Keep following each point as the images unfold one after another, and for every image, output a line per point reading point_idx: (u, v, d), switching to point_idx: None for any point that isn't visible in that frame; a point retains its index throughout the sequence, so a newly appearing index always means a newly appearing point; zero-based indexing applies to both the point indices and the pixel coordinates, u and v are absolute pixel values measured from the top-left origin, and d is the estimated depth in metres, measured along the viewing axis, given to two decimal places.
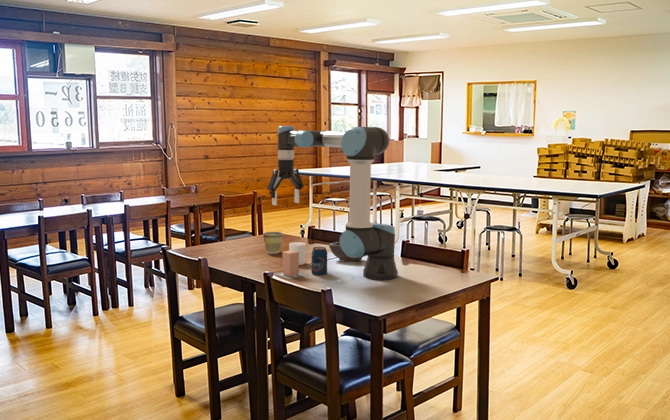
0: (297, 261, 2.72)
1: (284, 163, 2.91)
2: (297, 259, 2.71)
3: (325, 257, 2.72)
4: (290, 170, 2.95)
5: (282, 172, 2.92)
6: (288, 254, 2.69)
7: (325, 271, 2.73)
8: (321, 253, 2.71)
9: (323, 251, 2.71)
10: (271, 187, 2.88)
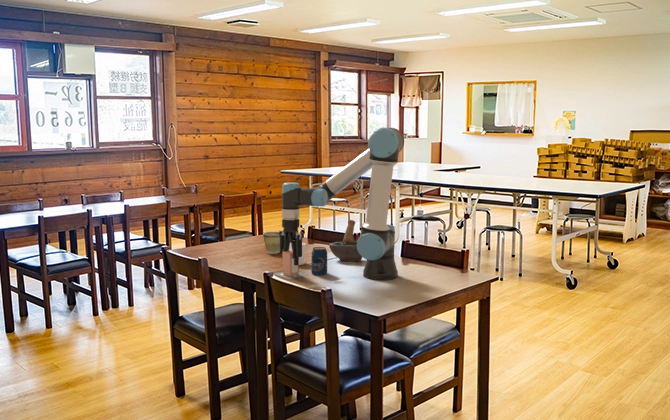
0: None
1: None
2: None
3: (325, 257, 2.72)
4: (291, 231, 2.68)
5: (284, 231, 2.72)
6: (288, 254, 2.69)
7: (325, 271, 2.73)
8: (321, 253, 2.71)
9: (323, 251, 2.71)
10: (280, 250, 2.75)
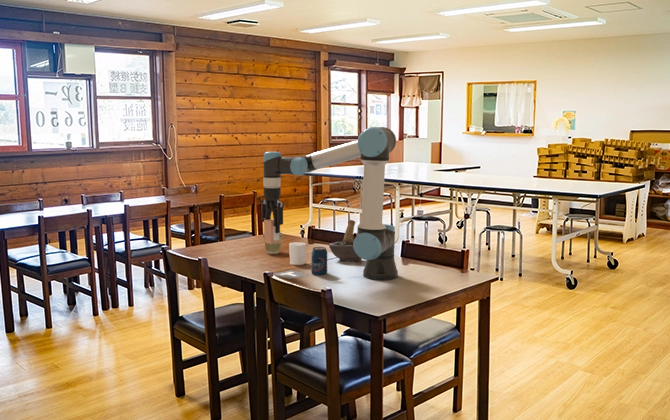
0: None
1: None
2: None
3: (325, 257, 2.72)
4: (272, 200, 2.74)
5: (266, 200, 2.77)
6: (269, 222, 2.74)
7: (325, 271, 2.73)
8: (321, 253, 2.71)
9: (323, 251, 2.71)
10: (261, 219, 2.80)
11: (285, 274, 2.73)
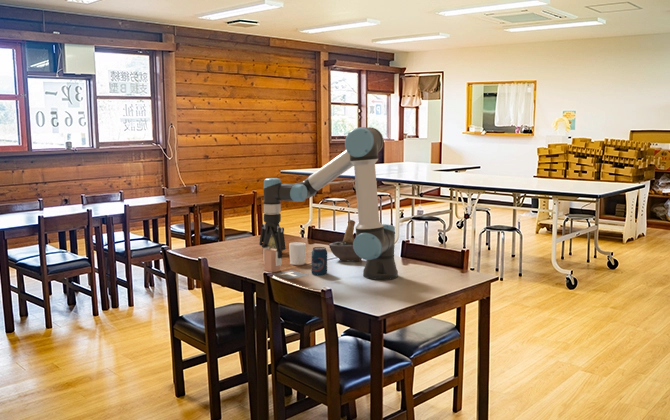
0: None
1: None
2: None
3: (325, 257, 2.72)
4: (272, 226, 2.75)
5: (266, 226, 2.79)
6: (269, 252, 2.76)
7: (325, 271, 2.73)
8: (321, 253, 2.71)
9: (323, 251, 2.71)
10: None
11: (285, 274, 2.73)
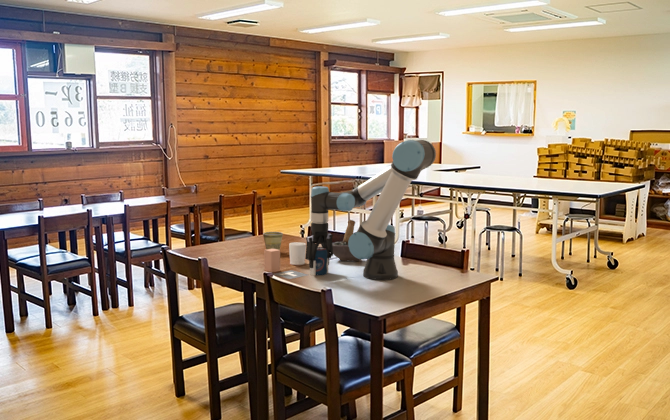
0: (278, 259, 2.79)
1: (319, 227, 2.69)
2: (278, 257, 2.78)
3: (325, 257, 2.72)
4: (324, 234, 2.73)
5: (316, 237, 2.70)
6: (269, 252, 2.76)
7: (325, 271, 2.73)
8: (321, 253, 2.71)
9: (323, 251, 2.71)
10: (309, 257, 2.69)
11: (285, 274, 2.73)
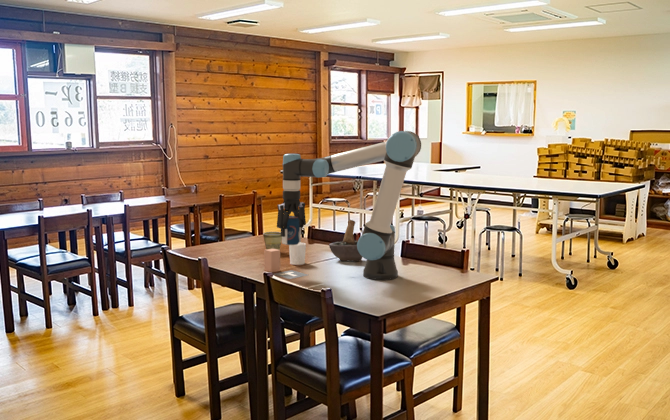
0: (278, 259, 2.79)
1: (290, 195, 2.64)
2: (278, 257, 2.78)
3: (297, 225, 2.68)
4: (296, 202, 2.69)
5: (287, 205, 2.66)
6: (269, 252, 2.76)
7: (297, 240, 2.69)
8: (293, 221, 2.66)
9: (295, 219, 2.67)
10: (280, 225, 2.64)
11: (285, 274, 2.73)
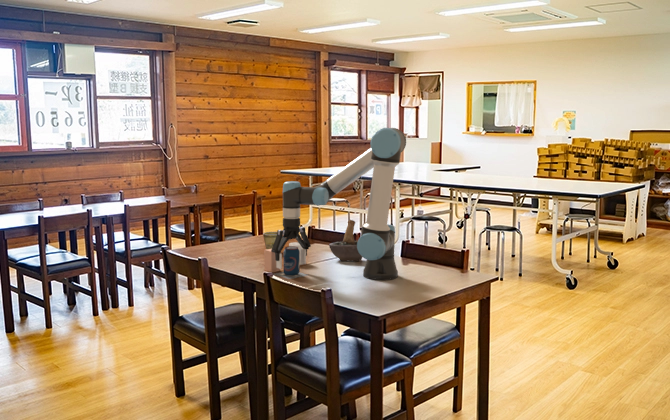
0: None
1: (290, 223, 2.66)
2: None
3: (297, 256, 2.69)
4: (295, 230, 2.70)
5: (287, 232, 2.67)
6: (269, 252, 2.76)
7: (297, 271, 2.70)
8: (293, 252, 2.68)
9: (295, 250, 2.69)
10: (275, 249, 2.64)
11: None
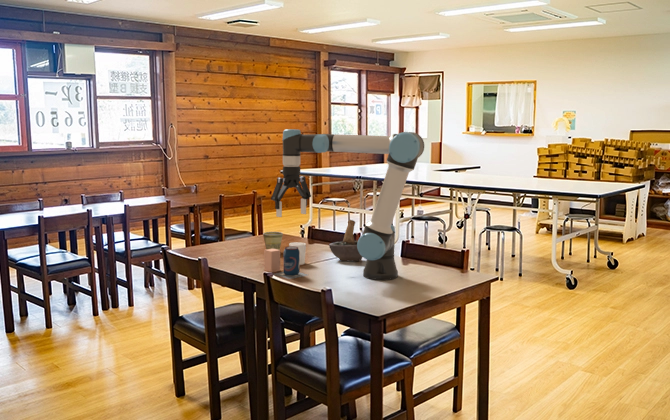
0: (278, 259, 2.79)
1: (290, 170, 2.63)
2: (278, 257, 2.78)
3: (297, 256, 2.69)
4: (296, 178, 2.67)
5: (287, 180, 2.64)
6: (269, 252, 2.76)
7: (297, 271, 2.70)
8: (293, 252, 2.68)
9: (295, 250, 2.69)
10: (275, 197, 2.61)
11: None
